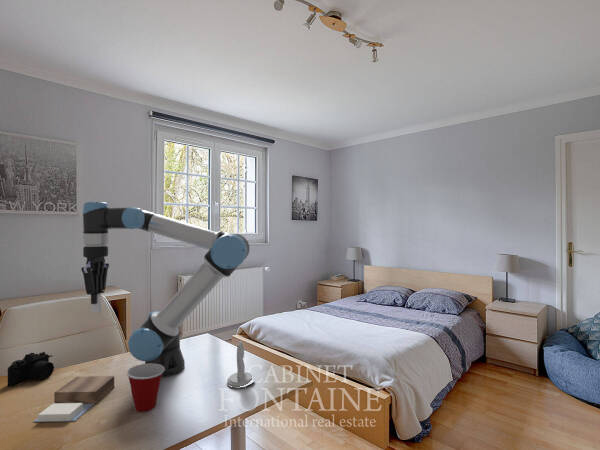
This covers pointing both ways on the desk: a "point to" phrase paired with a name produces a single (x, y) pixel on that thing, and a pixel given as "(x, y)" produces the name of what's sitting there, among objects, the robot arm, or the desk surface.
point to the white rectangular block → (60, 412)
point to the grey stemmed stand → (239, 370)
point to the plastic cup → (145, 385)
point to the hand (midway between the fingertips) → (96, 312)
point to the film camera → (30, 368)
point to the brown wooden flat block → (85, 390)
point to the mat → (85, 408)
